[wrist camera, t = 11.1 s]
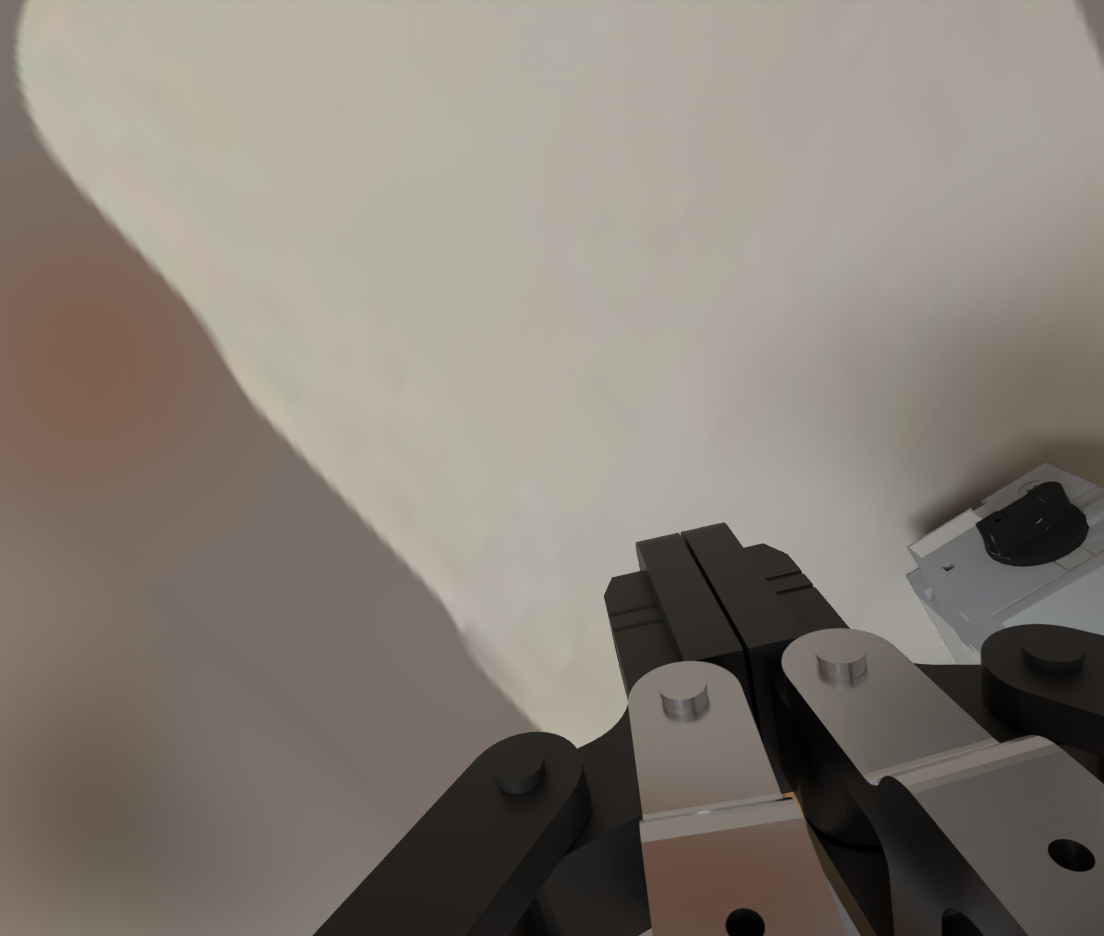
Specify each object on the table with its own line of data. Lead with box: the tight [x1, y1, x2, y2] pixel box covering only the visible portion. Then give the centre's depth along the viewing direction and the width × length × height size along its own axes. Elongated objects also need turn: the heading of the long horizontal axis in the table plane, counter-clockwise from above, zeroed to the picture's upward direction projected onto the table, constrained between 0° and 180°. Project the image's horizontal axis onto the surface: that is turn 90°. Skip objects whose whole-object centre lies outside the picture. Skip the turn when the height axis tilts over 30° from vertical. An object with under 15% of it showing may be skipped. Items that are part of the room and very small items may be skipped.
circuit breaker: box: [906, 462, 1104, 665], centre depth 34 cm, size 8×14×15 cm, turn 35°
